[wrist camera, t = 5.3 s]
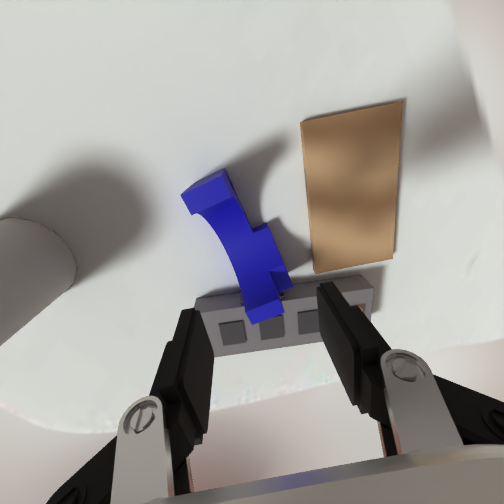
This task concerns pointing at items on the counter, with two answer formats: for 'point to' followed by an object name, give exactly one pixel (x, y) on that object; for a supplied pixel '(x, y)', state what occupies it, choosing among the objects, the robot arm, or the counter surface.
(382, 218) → the wooden board
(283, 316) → the power strip
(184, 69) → the counter surface
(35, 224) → the cup
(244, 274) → the cable clip
